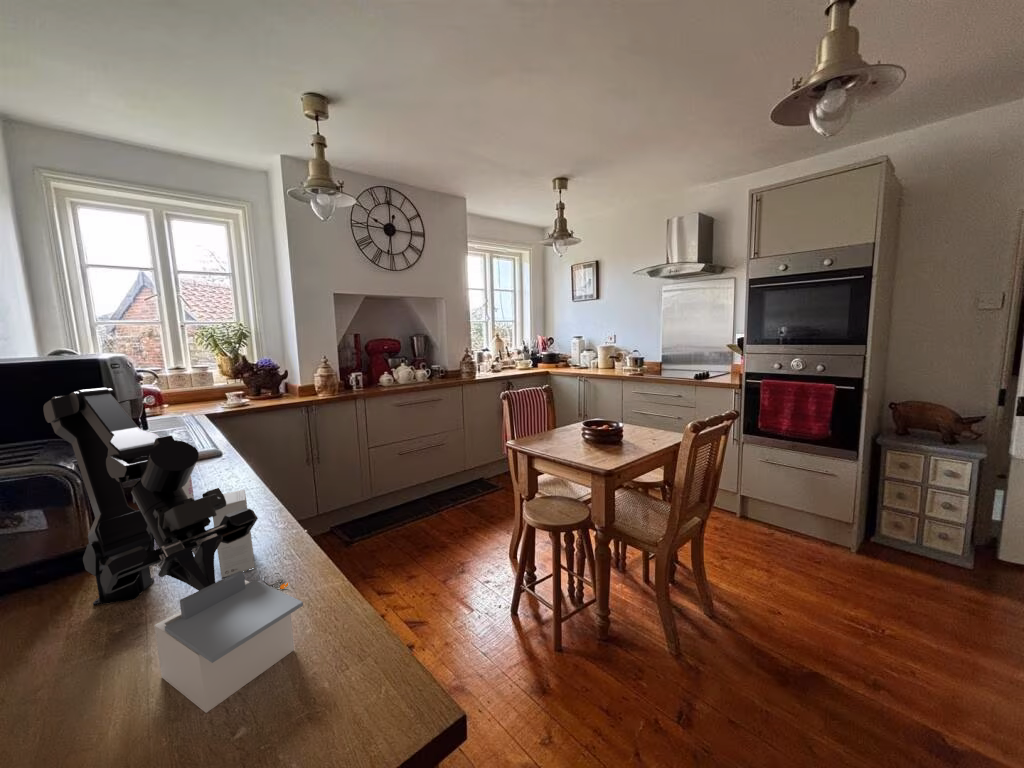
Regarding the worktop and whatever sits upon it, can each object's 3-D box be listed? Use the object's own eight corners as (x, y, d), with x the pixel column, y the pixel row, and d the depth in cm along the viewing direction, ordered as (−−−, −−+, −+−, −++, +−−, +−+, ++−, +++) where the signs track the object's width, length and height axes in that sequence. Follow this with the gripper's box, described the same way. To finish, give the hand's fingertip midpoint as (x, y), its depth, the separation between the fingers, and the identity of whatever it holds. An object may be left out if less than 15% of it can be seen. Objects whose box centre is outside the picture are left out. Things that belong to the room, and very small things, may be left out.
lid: (165, 630, 57) (162, 608, 56) (255, 583, 67) (253, 564, 67) (212, 663, 51) (209, 638, 50) (303, 605, 61) (301, 585, 61)
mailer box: (161, 677, 59) (154, 624, 58) (249, 624, 70) (244, 579, 69) (206, 713, 53) (198, 655, 52) (294, 649, 64) (289, 601, 63)
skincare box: (255, 569, 86) (247, 500, 84) (219, 579, 83) (210, 507, 81) (253, 552, 93) (246, 487, 91) (220, 560, 90) (212, 494, 88)
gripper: (95, 501, 54) (145, 605, 50) (245, 460, 70) (292, 537, 66) (81, 545, 59) (126, 643, 55) (225, 497, 75) (267, 571, 71)
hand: (212, 593), depth 62 cm, fingers closed, pressing on lid
